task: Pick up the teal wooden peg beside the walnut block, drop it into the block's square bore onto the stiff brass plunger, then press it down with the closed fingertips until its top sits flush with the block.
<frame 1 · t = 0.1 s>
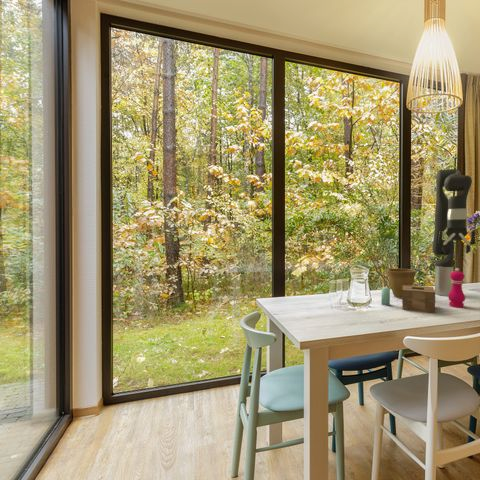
hand: (455, 253, 147), 29 cm above the table, tool pointing down, fingers open, 8 cm apart
pepper mill: (456, 306, 163), on the table
plant pot: (400, 297, 184), on the table
plunger: (417, 297, 160), point 5 cm above the table, slide at 4.7 cm
peg: (385, 304, 167), on the table
socket block: (417, 307, 160), on the table
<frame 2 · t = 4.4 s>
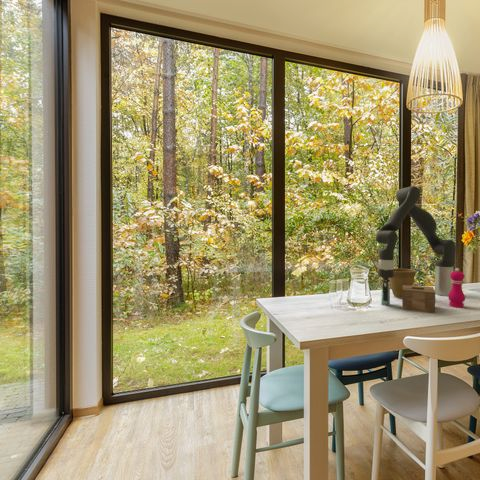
hand: (385, 299, 167), 3 cm above the table, tool pointing down, fingers closed on peg, 4 cm apart
peg: (385, 304, 167), on the table, touching gripper
everything else where it was.
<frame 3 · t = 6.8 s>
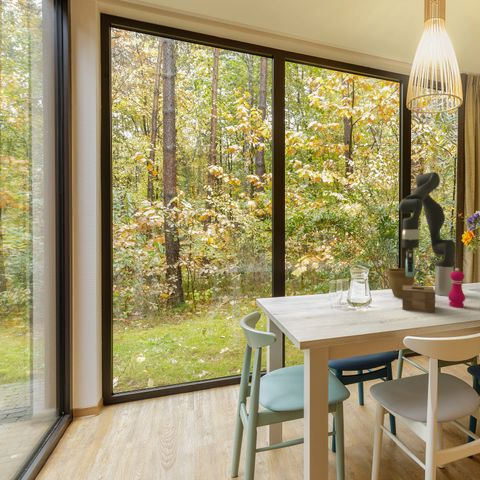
hand: (410, 271, 162), 19 cm above the table, tool pointing down, fingers closed on peg, 4 cm apart
peg: (410, 276, 162), point 16 cm above the table, touching gripper
everything else where it was.
when the fingers open (11 cm above the table, at t = 9.4 s): peg drops 3 cm, resting on plunger.
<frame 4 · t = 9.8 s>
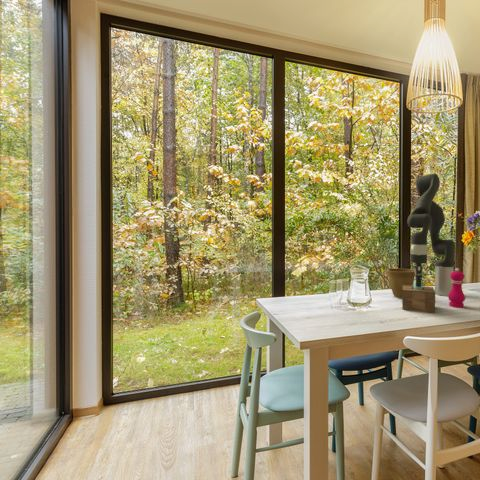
hand: (418, 285, 160), 12 cm above the table, tool pointing down, fingers open, 8 cm apart
plunger: (417, 299, 160), point 4 cm above the table, slide at 3.7 cm, touching peg
peg: (417, 298, 160), point 5 cm above the table, touching plunger
everything else where it was.
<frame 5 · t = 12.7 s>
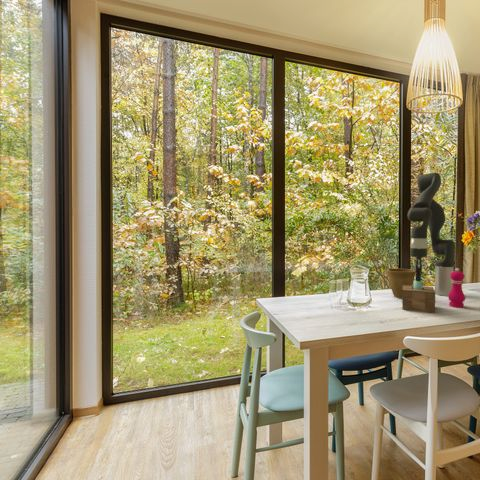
hand: (418, 280, 160), 14 cm above the table, tool pointing down, fingers closed
peg: (417, 298, 160), point 5 cm above the table, touching gripper, plunger
everything else where it was.
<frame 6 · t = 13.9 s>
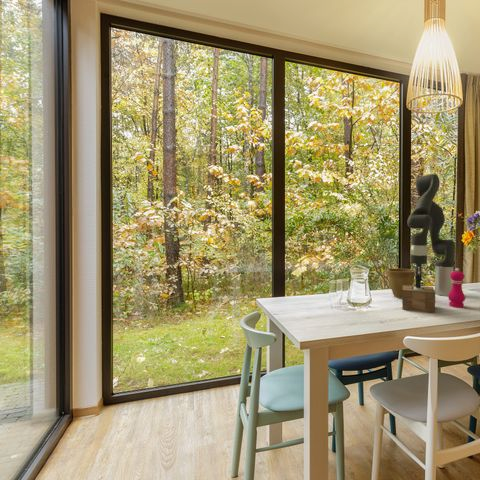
hand: (418, 287, 160), 10 cm above the table, tool pointing down, fingers closed
plunger: (417, 306, 160), point 1 cm above the table, slide at 0.1 cm, touching peg
peg: (417, 304, 160), point 1 cm above the table, touching gripper, plunger
everything else where it was.
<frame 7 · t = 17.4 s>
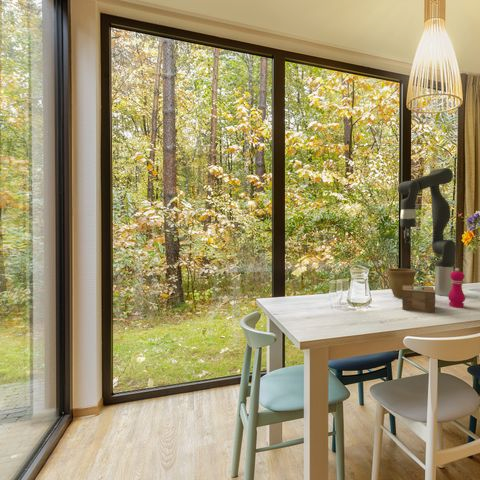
hand: (407, 249, 172), 29 cm above the table, tool pointing down, fingers closed
peg: (417, 304, 160), point 1 cm above the table, touching plunger
everything else where it was.
at the end: peg point 1.4 cm above the table; peg 0.1 cm from the socket block (horizontally); plunger slide at 0.1 cm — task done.
